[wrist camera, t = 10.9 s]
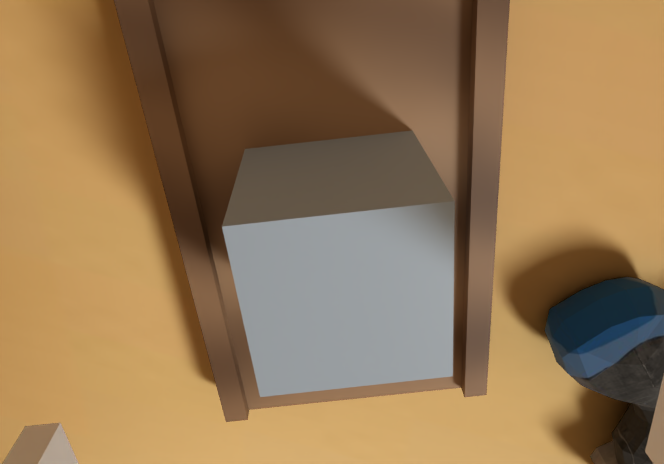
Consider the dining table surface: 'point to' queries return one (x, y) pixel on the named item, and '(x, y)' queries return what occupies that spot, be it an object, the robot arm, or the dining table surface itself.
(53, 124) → the dining table surface
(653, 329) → the ray gun
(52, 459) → the robot arm
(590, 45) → the dining table surface
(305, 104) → the board
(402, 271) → the cube
